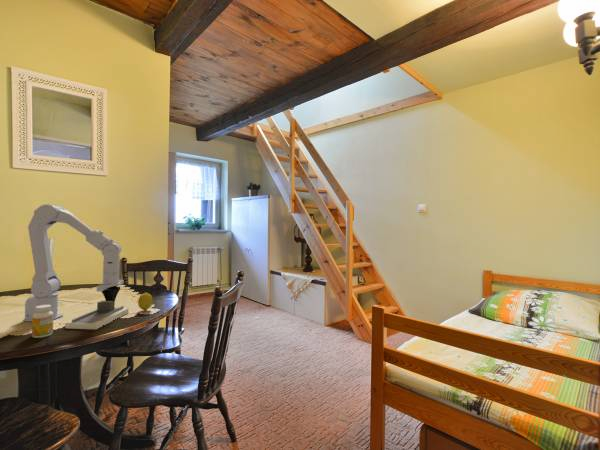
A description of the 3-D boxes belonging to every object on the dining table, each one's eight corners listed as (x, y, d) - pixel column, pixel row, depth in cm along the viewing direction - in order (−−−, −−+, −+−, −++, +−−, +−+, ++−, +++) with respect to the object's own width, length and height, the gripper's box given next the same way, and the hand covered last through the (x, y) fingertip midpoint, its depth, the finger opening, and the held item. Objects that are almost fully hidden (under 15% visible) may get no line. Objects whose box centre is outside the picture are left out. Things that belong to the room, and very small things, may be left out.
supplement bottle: (30, 335, 102) (30, 306, 102) (50, 331, 106) (51, 303, 106) (33, 339, 98) (34, 309, 98) (54, 335, 102) (55, 306, 102)
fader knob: (97, 312, 121) (97, 302, 121) (102, 310, 124) (102, 300, 124) (109, 312, 121) (109, 302, 121) (114, 310, 124) (114, 300, 124)
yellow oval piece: (146, 313, 129) (146, 294, 129) (134, 311, 130) (135, 293, 130) (154, 309, 135) (155, 291, 135) (144, 308, 136) (144, 290, 136)
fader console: (65, 328, 109) (65, 319, 109) (102, 311, 129) (102, 304, 129) (95, 329, 109) (96, 321, 109) (128, 312, 129) (128, 305, 129)
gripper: (109, 275, 118) (108, 310, 118) (131, 269, 132) (130, 301, 132) (91, 274, 118) (90, 310, 118) (114, 269, 132) (113, 300, 132)
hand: (110, 305), depth 125 cm, fingers closed
